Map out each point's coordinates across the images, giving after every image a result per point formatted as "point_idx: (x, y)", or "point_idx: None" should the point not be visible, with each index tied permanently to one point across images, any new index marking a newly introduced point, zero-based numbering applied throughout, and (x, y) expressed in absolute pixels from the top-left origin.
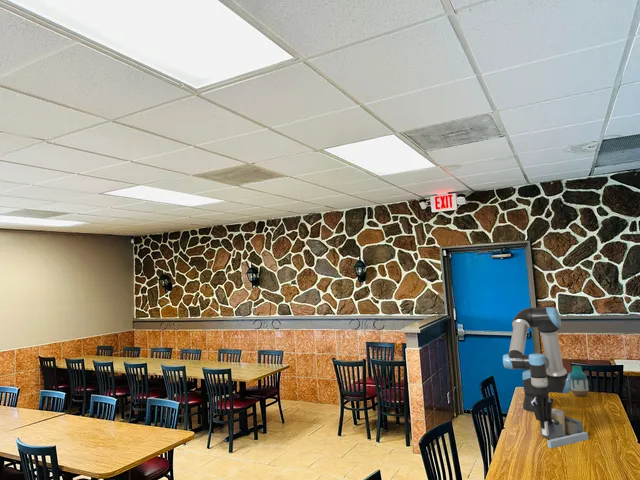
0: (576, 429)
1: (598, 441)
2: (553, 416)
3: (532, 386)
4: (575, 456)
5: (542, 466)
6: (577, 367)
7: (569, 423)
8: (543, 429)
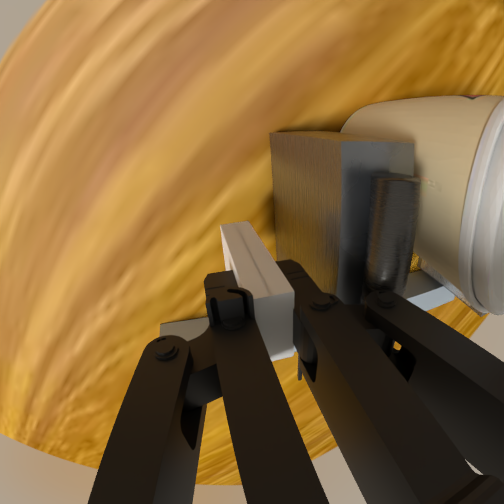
0: (447, 287)
1: (432, 314)
2: (458, 283)
3: None
4: (211, 425)
5: (51, 434)
6: None
7: None
8: (230, 269)
